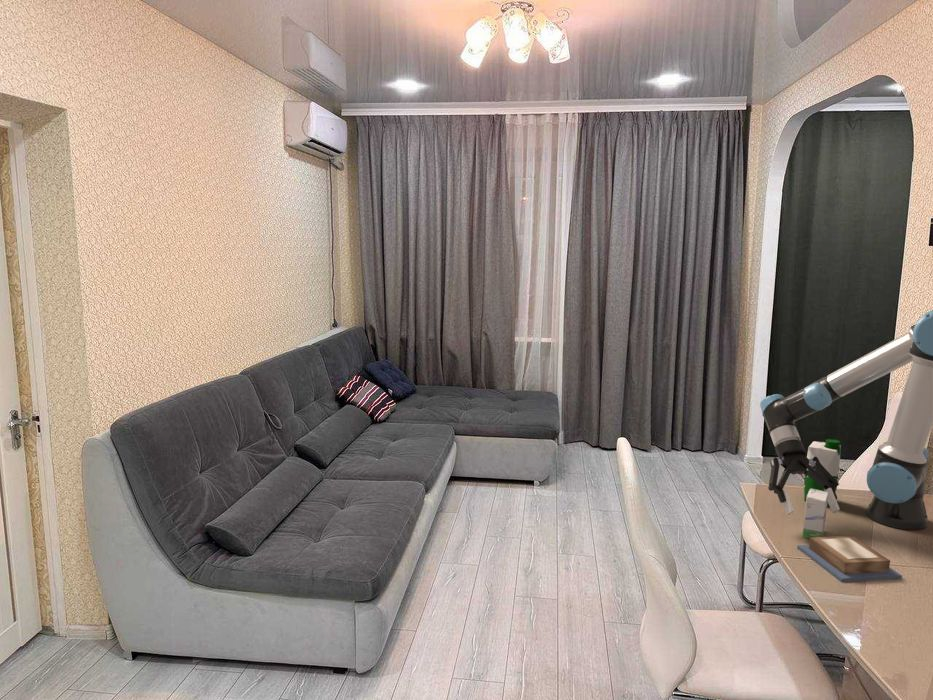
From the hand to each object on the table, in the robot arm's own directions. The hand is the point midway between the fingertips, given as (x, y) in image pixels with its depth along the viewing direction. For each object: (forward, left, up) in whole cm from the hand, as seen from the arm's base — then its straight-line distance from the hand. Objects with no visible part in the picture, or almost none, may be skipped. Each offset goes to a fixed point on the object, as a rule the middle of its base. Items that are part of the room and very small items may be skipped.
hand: (813, 512), depth 192 cm
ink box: (-1, 0, -7) cm, 7 cm away
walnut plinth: (+1, +17, -6) cm, 18 cm away
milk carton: (-18, -23, -7) cm, 30 cm away
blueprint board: (+1, +17, -6) cm, 18 cm away
